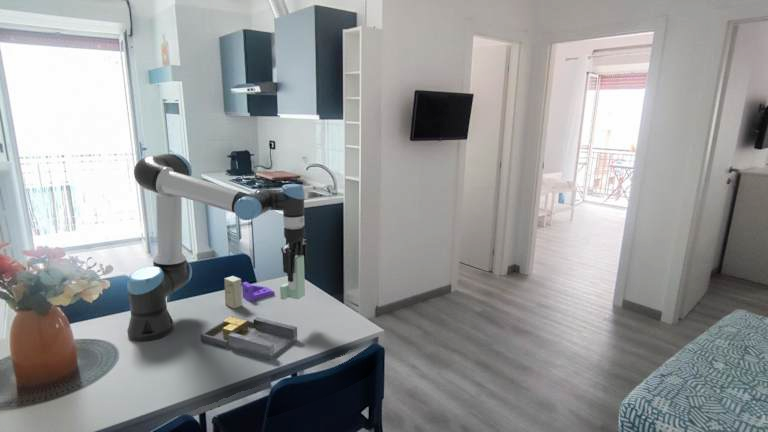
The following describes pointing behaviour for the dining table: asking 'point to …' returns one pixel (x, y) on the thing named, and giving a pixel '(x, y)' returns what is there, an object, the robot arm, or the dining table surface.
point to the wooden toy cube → (230, 330)
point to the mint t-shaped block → (299, 281)
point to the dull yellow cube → (229, 321)
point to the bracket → (255, 292)
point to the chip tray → (220, 334)
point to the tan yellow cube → (241, 325)
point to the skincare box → (233, 292)
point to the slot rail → (264, 339)
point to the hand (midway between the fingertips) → (296, 286)
